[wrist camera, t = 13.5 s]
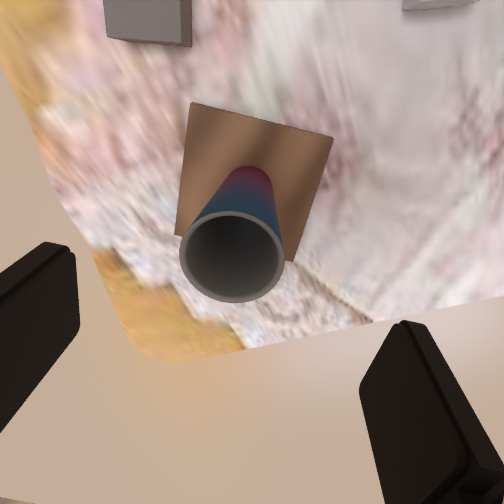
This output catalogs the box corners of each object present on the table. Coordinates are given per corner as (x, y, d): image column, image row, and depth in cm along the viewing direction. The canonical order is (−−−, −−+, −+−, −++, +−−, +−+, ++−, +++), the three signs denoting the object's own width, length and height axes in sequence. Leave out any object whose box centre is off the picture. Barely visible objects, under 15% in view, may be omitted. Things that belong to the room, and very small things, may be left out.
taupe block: (191, -9, 28) (179, -21, 24) (192, 46, 30) (181, 42, 26) (121, -14, 28) (99, -28, 24) (127, 41, 30) (107, 36, 26)
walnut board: (332, 137, 32) (333, 139, 31) (292, 256, 39) (293, 261, 38) (193, 102, 32) (190, 103, 31) (176, 230, 38) (174, 234, 37)
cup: (284, 215, 35) (290, 298, 22) (223, 223, 36) (194, 308, 23) (275, 151, 32) (276, 203, 19) (209, 162, 33) (165, 219, 20)
